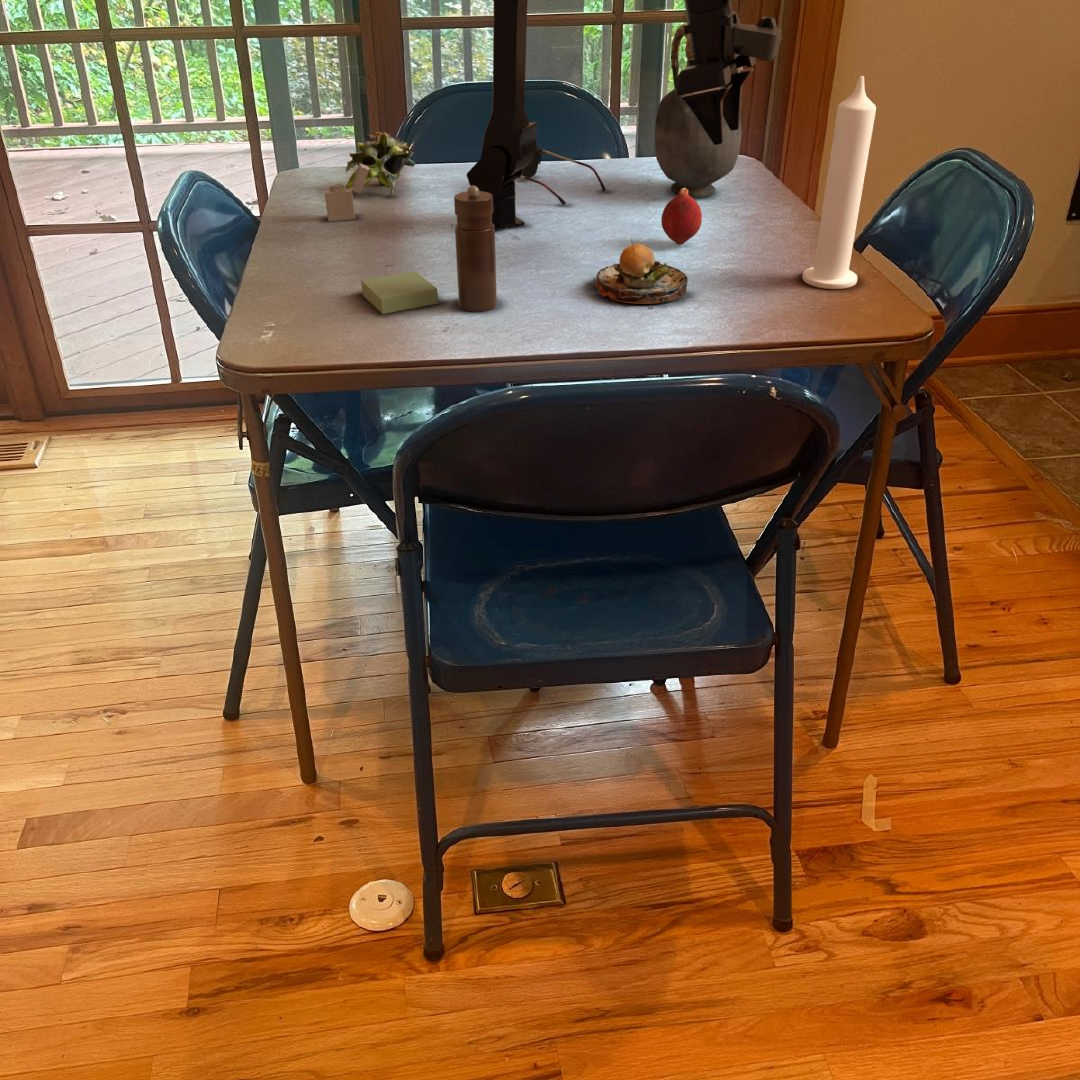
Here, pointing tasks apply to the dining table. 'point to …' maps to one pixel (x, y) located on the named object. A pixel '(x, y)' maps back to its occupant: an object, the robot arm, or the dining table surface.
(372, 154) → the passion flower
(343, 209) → the lighter
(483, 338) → the dining table surface
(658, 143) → the pitcher
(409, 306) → the riser block
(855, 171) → the candle
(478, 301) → the pepper mill
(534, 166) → the sunglasses
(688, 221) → the onion
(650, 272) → the wood slice pumpkin decoration
